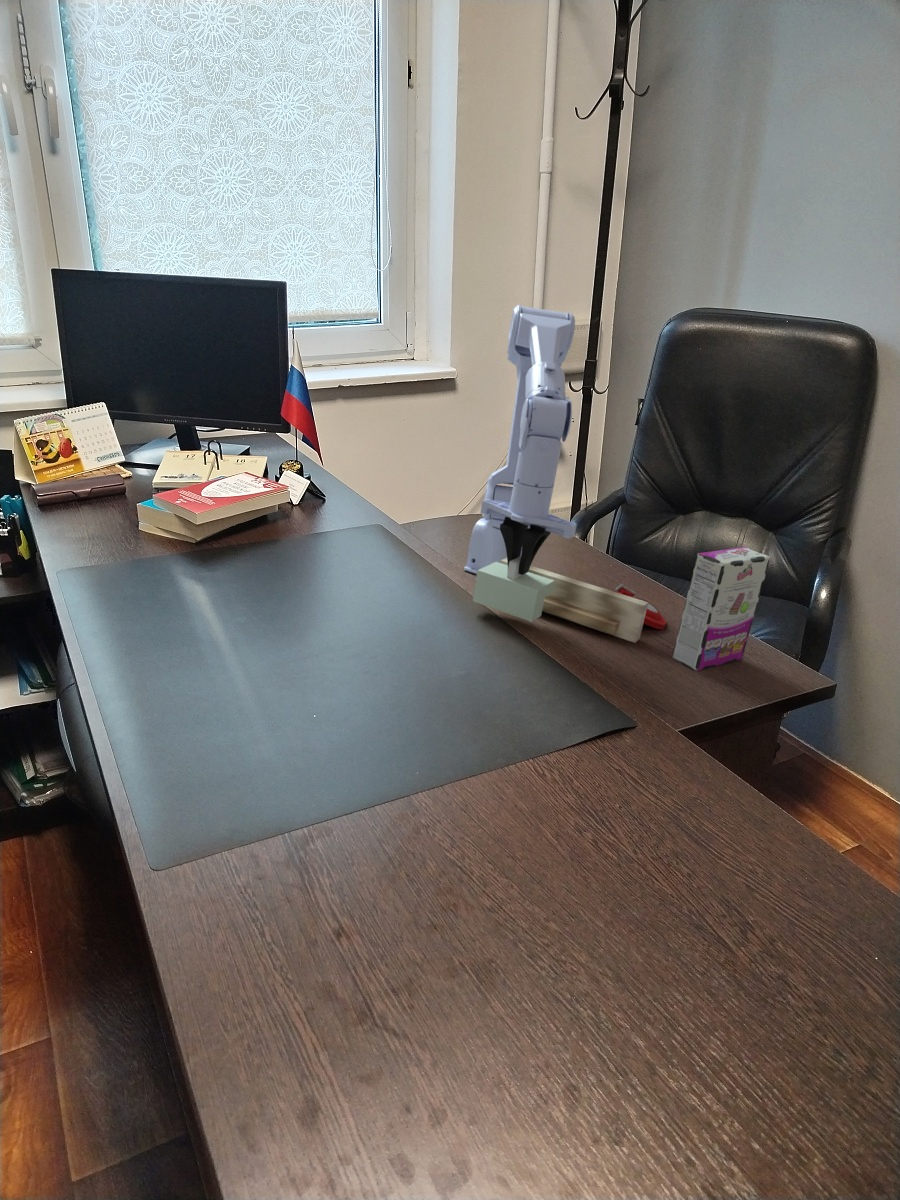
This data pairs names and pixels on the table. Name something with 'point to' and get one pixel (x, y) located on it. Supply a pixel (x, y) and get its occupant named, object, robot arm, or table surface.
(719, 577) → the candy bar box
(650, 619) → the tracker holder
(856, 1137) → the table surface
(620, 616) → the wall board
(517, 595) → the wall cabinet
